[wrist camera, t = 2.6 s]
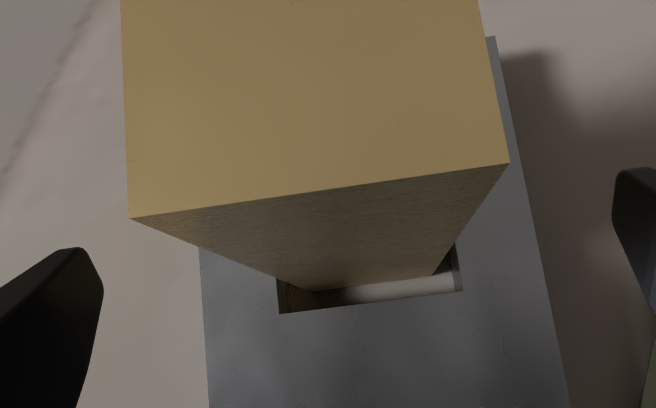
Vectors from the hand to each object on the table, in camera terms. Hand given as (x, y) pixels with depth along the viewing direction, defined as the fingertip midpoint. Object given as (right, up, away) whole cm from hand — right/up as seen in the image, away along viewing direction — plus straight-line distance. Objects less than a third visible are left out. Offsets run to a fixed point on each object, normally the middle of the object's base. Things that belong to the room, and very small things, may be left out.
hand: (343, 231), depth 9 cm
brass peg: (+1, 0, +9) cm, 9 cm away
